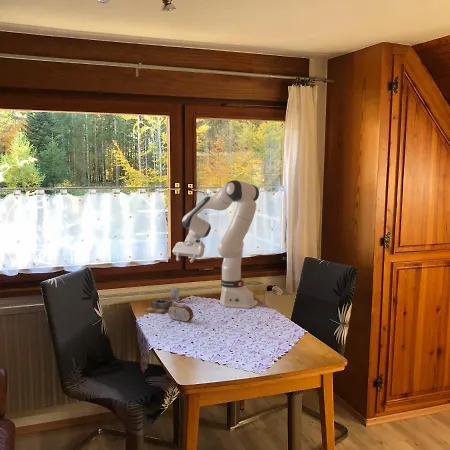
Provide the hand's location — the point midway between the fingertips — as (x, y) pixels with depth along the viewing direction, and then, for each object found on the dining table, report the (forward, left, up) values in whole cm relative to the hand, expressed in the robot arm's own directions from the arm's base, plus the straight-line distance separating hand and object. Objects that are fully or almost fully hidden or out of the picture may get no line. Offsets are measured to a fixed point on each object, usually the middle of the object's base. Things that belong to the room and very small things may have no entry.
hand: (184, 261), depth 300 cm
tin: (-20, +41, -23) cm, 51 cm away
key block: (0, +13, -22) cm, 26 cm away
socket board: (0, +28, -22) cm, 35 cm away
